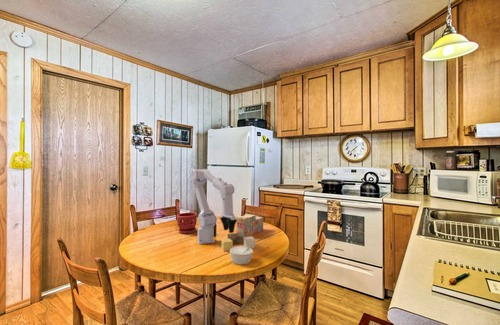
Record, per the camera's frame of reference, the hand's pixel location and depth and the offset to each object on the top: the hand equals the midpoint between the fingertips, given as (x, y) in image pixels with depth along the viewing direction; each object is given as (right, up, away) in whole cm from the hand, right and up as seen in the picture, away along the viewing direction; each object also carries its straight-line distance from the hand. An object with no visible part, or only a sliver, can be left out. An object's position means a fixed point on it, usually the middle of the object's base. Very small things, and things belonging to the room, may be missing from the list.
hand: (228, 231), depth 135 cm
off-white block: (+11, -10, +4) cm, 15 cm away
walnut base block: (+3, -10, +13) cm, 16 cm away
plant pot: (-31, -9, +31) cm, 45 cm away
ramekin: (+7, -10, -15) cm, 20 cm away
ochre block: (-1, -10, 0) cm, 10 cm away
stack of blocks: (+12, -10, +30) cm, 34 cm away
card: (+6, -10, 0) cm, 11 cm away
